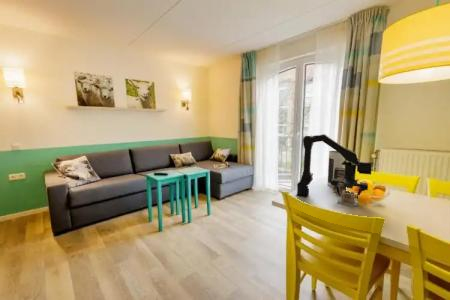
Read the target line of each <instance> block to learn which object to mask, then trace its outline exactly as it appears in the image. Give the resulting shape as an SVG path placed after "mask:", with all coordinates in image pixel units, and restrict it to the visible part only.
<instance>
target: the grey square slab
mask: <svg viewBox="0 0 450 300" xmlns="http://www.w3.org/2000/svg"><path fill="white" fill-rule="evenodd" d="M349 194H350V193H349ZM356 199H357V198H354V202H353V203H349V202H343V201H341V200H342V196H338V199H337V204H340V205H344V206H351V207H354V208H355V207H356V208H357V207H358V203H359V200H358V201H357V200H356Z"/></svg>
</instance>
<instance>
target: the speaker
mask: <svg viewBox="0 0 450 300" xmlns="http://www.w3.org/2000/svg"><path fill="white" fill-rule="evenodd" d="M328 152H329V153H328V168H327V169H328V170H327V186H329V187H332V188H333V185H331V180H332V179H333V178H334V170H335V167H337V168H345V165H342V164H341V163H342V162H343V161H344V160H345V158H344V157H343V156H342V155H341V154H340V153H339V152H338V151H336V150H329V151H328Z"/></svg>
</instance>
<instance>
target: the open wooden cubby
mask: <svg viewBox="0 0 450 300" xmlns="http://www.w3.org/2000/svg"><path fill="white" fill-rule="evenodd" d="M349 191H350V190H348V191H344V190H343V191H342V193H341V197H342V200H341V201H343V202H349V203H353V202H354V199H355V191H352V192H351V193H350V192H349ZM349 193H350V194H349Z"/></svg>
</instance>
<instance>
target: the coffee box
mask: <svg viewBox="0 0 450 300" xmlns="http://www.w3.org/2000/svg"><path fill="white" fill-rule="evenodd" d="M344 169H345V167H344V168H337V167H335V170H334V179H339V181H343V179H344ZM343 190H344V191H346V188H345V187H343V185H342V184H340V194H342V191H343ZM332 192H333V193H338V192H337V189H336V187H334V186H333V187H332Z"/></svg>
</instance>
